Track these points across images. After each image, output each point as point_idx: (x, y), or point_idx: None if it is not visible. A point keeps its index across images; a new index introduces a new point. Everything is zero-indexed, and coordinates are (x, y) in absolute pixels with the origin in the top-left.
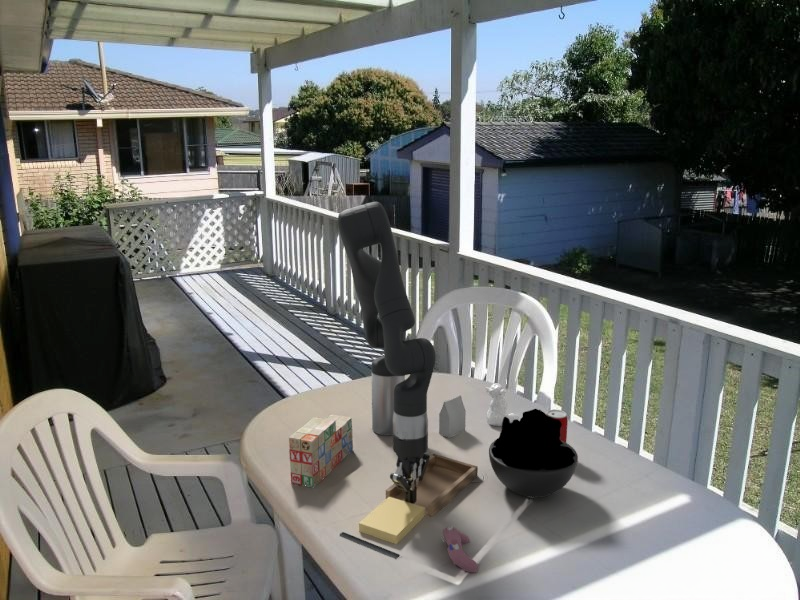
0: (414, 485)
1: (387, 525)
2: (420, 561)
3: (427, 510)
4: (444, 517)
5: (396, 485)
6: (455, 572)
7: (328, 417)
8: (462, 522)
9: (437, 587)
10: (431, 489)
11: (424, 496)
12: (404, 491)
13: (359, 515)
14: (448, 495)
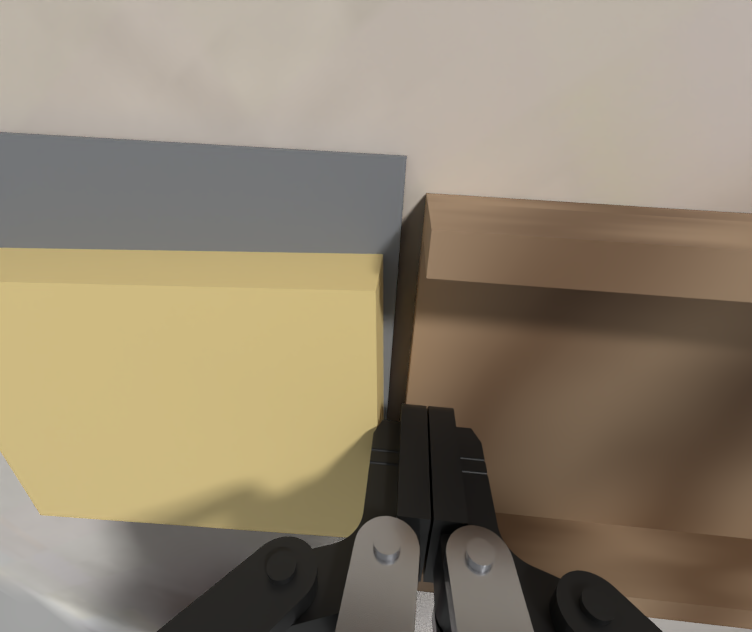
0: (433, 611)
1: (62, 446)
2: (117, 539)
3: None
4: None
5: (181, 620)
6: (163, 618)
7: None
8: None
9: (67, 600)
10: (718, 427)
11: (598, 423)
12: (364, 505)
13: (159, 85)
14: None
